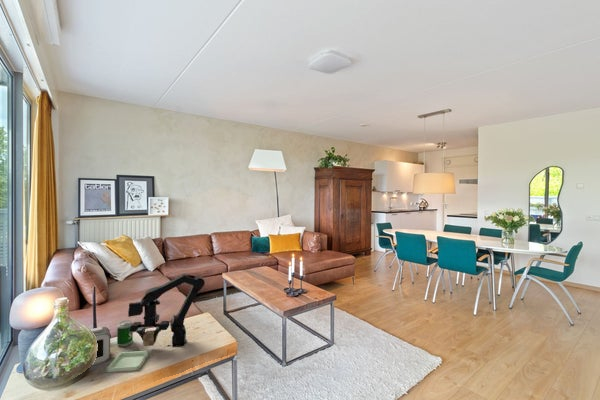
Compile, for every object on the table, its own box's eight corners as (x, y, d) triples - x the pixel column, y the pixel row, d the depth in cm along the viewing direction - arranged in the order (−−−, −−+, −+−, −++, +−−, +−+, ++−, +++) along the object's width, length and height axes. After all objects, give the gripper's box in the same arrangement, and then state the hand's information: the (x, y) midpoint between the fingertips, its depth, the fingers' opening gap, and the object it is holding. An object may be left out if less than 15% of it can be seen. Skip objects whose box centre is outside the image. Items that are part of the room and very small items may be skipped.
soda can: (125, 348, 156) (125, 326, 155) (113, 346, 157) (113, 324, 157) (135, 341, 163) (136, 320, 163) (124, 339, 164) (124, 319, 164)
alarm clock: (68, 371, 134) (68, 339, 134) (70, 360, 143) (70, 329, 143) (110, 360, 144) (110, 330, 144) (109, 350, 153) (109, 321, 153)
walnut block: (156, 340, 157) (156, 330, 157) (153, 345, 152) (153, 334, 152) (146, 341, 157) (146, 330, 156) (143, 346, 152) (143, 335, 152)
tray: (148, 354, 150) (148, 350, 150) (138, 370, 136) (138, 366, 136) (120, 355, 148) (120, 352, 148) (106, 372, 134) (106, 368, 134)
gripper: (172, 306, 164) (172, 333, 164) (137, 307, 161) (137, 335, 161) (166, 314, 153) (166, 343, 153) (129, 316, 150) (128, 345, 150)
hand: (149, 341), depth 154 cm, fingers closed on walnut block, 5 cm apart
